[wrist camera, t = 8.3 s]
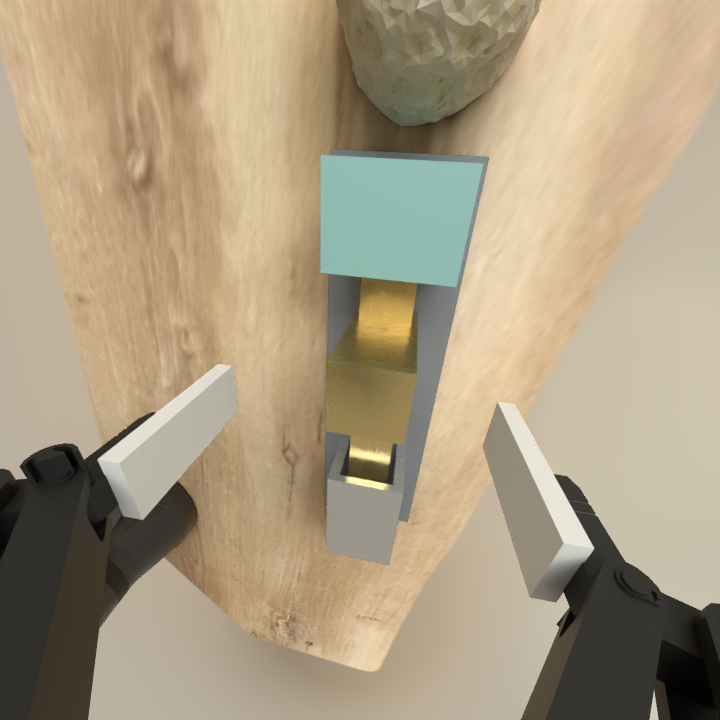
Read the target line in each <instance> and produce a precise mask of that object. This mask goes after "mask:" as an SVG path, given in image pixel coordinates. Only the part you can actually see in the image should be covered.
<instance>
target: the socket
mask: <svg viewBox="0 0 720 720" xmlns="http://www.w3.org/2000/svg"><path fill="white" fill-rule="evenodd" d="M482 168H483V163H464V162H445V161H427V160H408V159H389V158H371V157H352V156H333V155H321V241H320V273H327V274H337V275H346V276H355V277H365V278H374V279H384V280H393V281H403V282H412V283H422V284H431V285H441V286H450V287H457V282H458V278H459V273H460V269H461V264H462V259H463V255H464V250H465V246H466V241H467V236H468V232H469V227H470V223H471V218H472V214H473V209H474V204H475V200H476V195H477V191H478V186H479V182H480V177H481V172H482Z"/></svg>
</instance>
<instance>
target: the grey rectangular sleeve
mask: <svg viewBox="0 0 720 720" xmlns="http://www.w3.org/2000/svg"><path fill="white" fill-rule="evenodd" d="M350 440H351V435H345V434H343V435H342V438H341V441H340V444H339V447H338V450H337V453H336V456H335V459H334V462H333V464H332V467H331V470H330V473H329V476H328V482H327V529H326V551H328V552H332V553H336V554H341V555H345V556H350V557H354V558H358V559H363V560H367V561H371V562H376V563H380V564H385V565H389V563H390V558H391V553H392V548H393V543H394V538H395V533H396V528H397V523H398V518H399V513H400V508H401V503H402V498H403V491H404V473H405V455H406V445H405V444H404V445H402V444H397V447H396V453H395V459H394V465H393V471H392V477H391V483H390V484H385V483H379V482H374V481H369V480H364V479H359V478H354V477H348V470H349V455H350Z"/></svg>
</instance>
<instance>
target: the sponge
mask: <svg viewBox="0 0 720 720" xmlns="http://www.w3.org/2000/svg"><path fill="white" fill-rule="evenodd" d="M336 2H337V7H338V11H339V17H340V20H341V24H342V28H343V31H344V34H345V42H346V44H347V47H348V49H349V53H350V56H351V60H352V71H353V72H354V74H355V77H356V82H357V85H358V86H359V87H360V89H361V90H362V91H363V92H364V93H365V95H366V96H367V97H368V98H369V100H370V101H371V102H372V103H373V104H374V105H375V106H376V107H377V108H378V109H379V110H380V111H381V112H382V113H383V114H384V115H385V116H387V117H388V118H389V119H390V120H392V121H393V122H394V123H396V124H398V125H400V126H415V125H421V124H425V123H429V122H437V121H439V120H441V119H442V118H444V117H447V116H450V115H452V114H454V113H456V112H458V111H460V110H461V109H463V108H464V107H466V106H467V105H468V104H469V103H470V102H471V101H473V100H474V99H476V98H478V97H479V96H481V95H482V94H484V93H485V92H486V91H487V90H490V89H491V87H492V85H493V83H494V82H495V81H496V80H497V79H498V78H499V77H500V76H501V75H502V74H503V72H504V71H505V70H506V68H507V67H508V66H509V65H510V64H512V62H513V59H514V57H515V55H516V54H517V52H518V50H519V48H520V46H521V45H522V43H523V41H524V39H525V36H526V34H527V32H528V30H529V27H530V25H531V23H532V22H533V20H534V18H535V16H536V15H537V13H538V11H539V6H540V2H541V0H336Z"/></svg>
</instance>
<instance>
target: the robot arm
mask: <svg viewBox="0 0 720 720" xmlns="http://www.w3.org/2000/svg"><path fill="white" fill-rule="evenodd" d="M238 410H239V407H238V401H237V394H236V387H235V381H234V374H233V367H232V366H229V365H222V364H218V365H216V366H215V367H214V368H213V369H211V370H210V371H209V372H208V373H206V374H205V375H204V376H202V377H201V378H200V379H199V380H197V381H196V382H195V383H194V384H192V385H191V386H190V387H189V388H187V389H186V390H185V391H183V392H182V393H181V394H180V395H178V396H177V397H176V398H175V399H173V400H172V401H171V402H169V403H168V404H167V405H166V406H164V407H163V408H162V409H161V410H159V411H158V412H157V413H156V412H152V413H150V414H147V415H145V416H143V417H141V418H139V419H138V420H136V421H135V422H134V423H132V424H131V425H130V426H128V427H127V429H124V430H123V431H122V432H120V433H119V434H118V436H115V437H114V438H112V439H111V440H110V441H108V442H107V443H106V444H105V445H103V446H102V447H101V448H100V449H98V450H97V451H95V452H94V453H93V454H91V455H90V456H89V457H87V458H86V459H85V460H84V459H83V457H82V455H81V453H80V451H79V449H78V447H77V446H75V445H74V444H66V443H65V444H58V445H54V446H50V447H47V448H44V449H42V450H40V451H38V452H36V453H34V454H32V455H31V456H30V457H28V458H27V459H25V460H24V461H23V463H22V464H21V465H20V468H21V469H22V471H23V473H24V474H25V476H26V477H27V479H19V480H16V479H15V478H14V476H13V475H12V473H11V472H10V471H9V470H6V469H0V720H88V715H89V706H90V698H91V690H92V682H93V674H94V665H95V657H96V649H97V641H98V633H99V628H100V627H101V626H102V624H103V623H104V622H105V620H106V619H107V617H108V616H109V615H110V614H111V612H112V611H113V610H114V608H115V607H116V606H117V604H118V603H119V602H120V600H121V599H122V598H123V597H124V595H125V594H126V593H127V591H128V590H129V589H130V587H131V586H132V585H133V584H134V583H135V582H136V581H137V580H138V579H139V578H140V577H141V576H142V575H144V574H145V573H146V572H147V571H148V570H149V569H151V568H152V567H153V566H154V565H155V564H157V563H158V562H159V561H160V560H161V559H162V558H163V557H165V556H166V555H167V554H168V553H169V552H170V551H171V550H172V549H173V548H175V547H177V546H178V545H179V544H180V543H181V542H182V541H183V540H184V539H185V537H186V536H187V535H188V533H189V532H190V530H191V529H192V528H193V526H194V525H195V523H196V519H197V514H196V509H195V506H194V504H193V502H192V500H191V498H190V497H189V495H188V494H187V493H186V491H185V490H184V489H183V488H182V487H181V486H180V485H179V484H178V483H177V482H176V481H177V480H178V479H179V478H180V477H181V476H182V475H183V473H184V472H185V471H186V470H187V469H188V468H189V466H190V465H191V464H192V463H193V462H194V461H195V460H196V458H197V457H198V456H199V455H200V454H201V453H202V451H203V450H204V449H205V448H206V447H207V446H208V445H209V443H210V442H211V441H212V440H213V439H214V438H215V437H216V435H217V434H218V433H219V432H220V431H221V430H222V428H223V427H224V426H225V425H226V424H227V423H228V422H229V420H230V419H231V418H232V417H233V416H234V415H235V414H236V412H237V411H238ZM483 449H484V453H485V456H486V459H487V462H488V465H489V468H490V472H491V475H492V478H493V481H494V484H495V487H496V490H497V494H498V497H499V500H500V504H501V507H502V510H503V513H504V515H505V519H506V523H507V526H508V529H509V532H510V535H511V538H512V542H513V545H514V548H515V551H516V555H517V558H518V561H519V564H520V567H521V570H522V574H523V577H524V580H525V583H526V586H527V590H528V593H529V596H530V597H531V598H536V599H541V600H546V601H551V602H557V600H558V599H559V598H560V596H561V595H562V593H563V592H564V594H565V596H566V599H567V601H568V604H569V606H570V608H569V609H568V610H567V611H566V613H565V614H564V615H563V617H562V618H561V619H560V621H559V622H558V623H557V625H558V626H559V627H560V628H559V630H558V632H557V635H556V637H555V640H554V642H553V644H552V647H551V649H550V651H549V654H548V656H547V659H546V661H545V664H544V666H543V668H542V671H541V673H540V675H539V678H538V680H537V683H536V685H535V687H534V690H533V692H532V694H531V697H530V699H529V702H528V704H527V706H526V709H525V711H524V714H523V716H522V719H521V720H649V718H650V711H651V705H652V698H653V692H654V691H655V697H656V704H657V710H658V718H659V720H720V604H715V603H711V604H709V605H708V606H706V607H705V608H704V609H703V610H702V611H701V610H698V609H696V608H694V607H692V606H689V605H687V604H685V603H683V602H681V601H679V600H676V599H674V598H672V597H670V596H667V595H665V594H663V593H662V592H660V590H659V588H658V587H657V586H656V585H655V584H654V583H653V581H652V580H651V579H650V578H649V577H648V576H646V575H645V574H644V573H643V572H642V571H640V570H639V569H638V568H636V567H634V566H633V565H631V564H629V563H627V562H625V560H624V559H623V557H622V556H621V554H620V552H619V551H618V549H617V548H616V546H615V544H614V543H613V541H612V540H611V538H610V536H609V535H608V533H607V531H606V530H605V528H604V527H603V525H602V523H601V522H600V520H599V518H598V517H597V516H595V512H594V510H593V509H592V507H591V506H590V505H589V504H588V501H587V499H586V497H585V496H584V494H583V493H582V491H581V490H580V488H579V487H578V486H577V485H576V484H574V483H573V482H572V481H571V480H570V479H569V478H568V477H567V476H562V475H555V474H553V473H552V471H551V469H550V467H549V465H548V463H547V462H546V460H545V458H544V456H543V454H542V453H541V451H540V449H539V447H538V445H537V443H536V442H535V440H534V438H533V437H532V434H531V433H530V431H529V429H528V427H527V425H526V424H525V422H524V420H523V418H522V416H521V414H520V413H519V411H518V409H517V407H516V405H515V404H510V403H503V402H497V405H496V408H495V411H494V414H493V417H492V420H491V423H490V426H489V429H488V432H487V435H486V438H485V441H484V444H483Z"/></svg>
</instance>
